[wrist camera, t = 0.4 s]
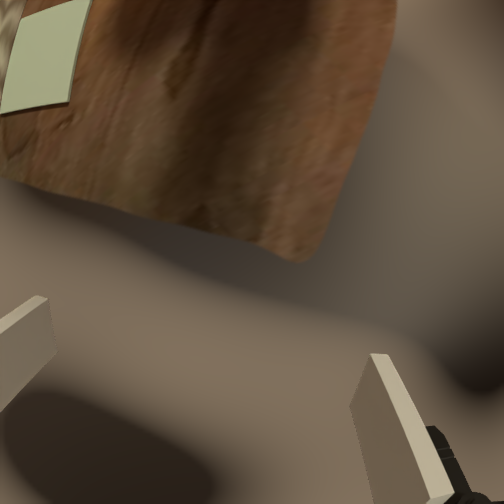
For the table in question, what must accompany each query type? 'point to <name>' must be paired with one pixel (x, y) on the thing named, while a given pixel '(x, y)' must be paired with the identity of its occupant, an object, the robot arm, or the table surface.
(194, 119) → the table surface
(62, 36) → the pad
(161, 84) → the table surface
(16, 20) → the frame
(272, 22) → the table surface
